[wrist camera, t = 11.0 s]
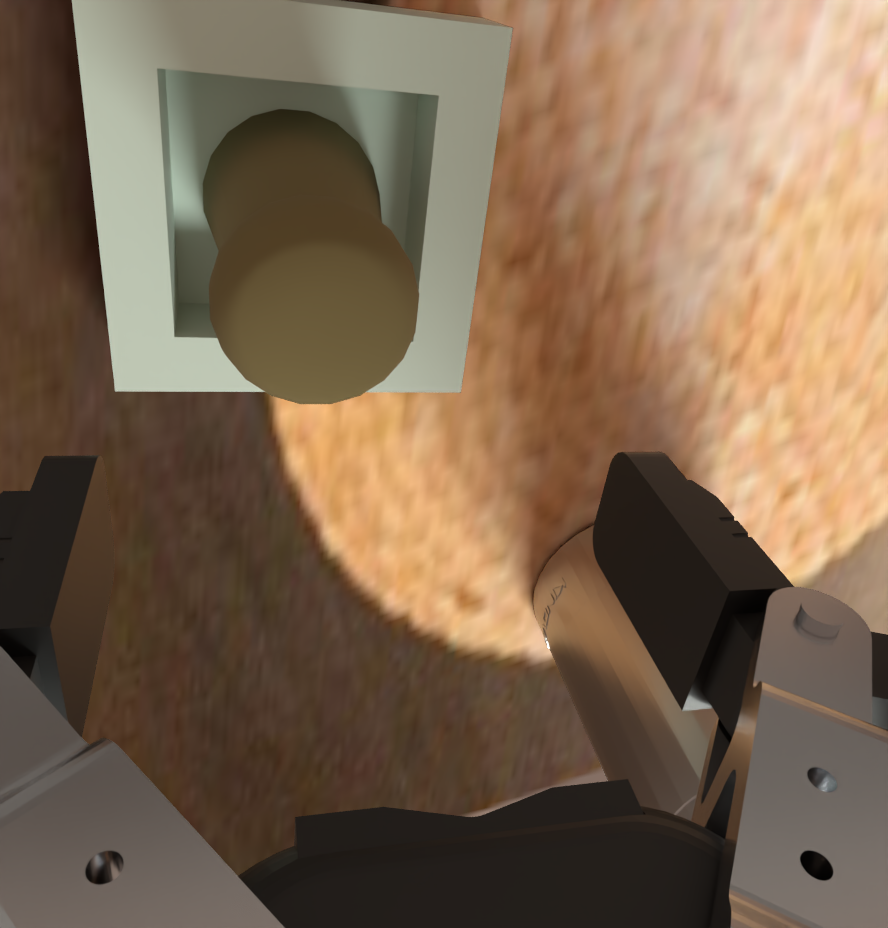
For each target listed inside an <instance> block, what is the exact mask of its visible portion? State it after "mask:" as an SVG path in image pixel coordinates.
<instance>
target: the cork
mask: <svg viewBox="0 0 888 928" xmlns="http://www.w3.org/2000/svg"><path fill="white" fill-rule="evenodd" d="M203 204H204V214H205V216H206V219H207V222H208V224H209V227H210V230H211V232H212V235H213V238H214V240H215V243H216V246H217V248H218V251H219V252H218V255H217V258H216V261H215V264H214V267H213V271H212V274H211V277H210V282H209V306H210V321H211V323H212V326H213V329H214V331H215V334H216V336H217V339H218V341H219V344H220V346H221V349H222V350H223V352H224V354H225V355H226V357H227V358H228V359H229V360H230V361H231V362H232V364H233V365H234V366H235V367H236V368H237V370H238V371H239V372H240V373H241V374H242V376H243V377H244V378H245V379H246V380H247V381H249V382H251V383H252V384H254V385H255V386H257V387H258V388H260V389H262V390H263V391H265V392H266V393H268V394H269V395H271V396H274V397H278V398H281V399H285V400H288V401H292V402H295V403H299V404H332V403H336V402H340V401H343V400H347V399H350V398H354V397H357V396H360V395H362V394H363V393H365V392H366V391H368V390H370V389H371V388H373V387H374V386H376V385H378V384H379V383H381V382H383V381H384V380H385V379H386V378H387V377H388V376H389V375H390V373H391V372H392V371H393V370H394V369H395V368H396V367H397V366H398V364H399V363H400V362H401V361H402V360H403V359H404V357H405V354H406V352H407V350H408V348H409V345H410V343H411V341H412V339H413V337H414V334H415V331H416V322H417V313H418V303H419V291H418V287H417V282H416V278H415V273H414V269H413V265H412V263H411V261H410V260H409V258H408V256H407V255H406V253H405V252H404V250H403V248H402V247H401V245H400V243H399V242H398V240H397V239H396V237H395V235H394V234H393V232H392V230H390V229H389V228H388V227H387V226H386V225H384V224H383V223H382V217H381V204H380V193H379V189H378V185H377V181H376V177H375V172H374V168H373V166H372V164H371V163H370V161H369V159H368V158H367V156H366V154H365V153H364V151H363V149H362V148H361V146H360V144H359V143H358V142H357V141H356V140H355V139H354V138H353V137H352V136H350V135H349V134H348V133H347V132H346V131H345V130H344V129H343V128H341V127H340V126H339V125H338V124H337V123H335V122H333V121H330V120H328V119H326V118H324V117H321V116H319V115H317V114H314V113H312V112H310V111H300V110H288V109H277V110H273V111H269V112H265V113H262V114H258V115H254V116H251V117H249V118H248V119H247V120H245V121H244V122H242V123H241V124H239V125H238V126H236V127H235V128H233V129H232V130H230V131H229V132H227V134H226V135H225V137H224V138H223V139H222V141H221V142H220V144H219V145H218V146H217V148H216V149H215V150H214V152H213V153H212V155H211V156H210V160H209V163H208V167H207V170H206V173H205V177H204V180H203Z"/></svg>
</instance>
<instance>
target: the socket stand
mask: <svg viewBox="0 0 888 928" xmlns="http://www.w3.org/2000/svg"><path fill="white" fill-rule="evenodd" d="M72 7H73V16H74V25H75V34H76V43H77V52H78V61H79V70H80V79H81V88H82V97H83V106H84V115H85V124H86V133H87V142H88V151H89V160H90V169H91V178H92V187H93V196H94V205H95V214H96V223H97V232H98V241H99V250H100V259H101V268H102V277H103V286H104V295H105V304H106V313H107V322H108V331H109V340H110V349H111V358H112V367H113V376H114V385H115V391H190V392H265V391H263V390H262V389H260V388H258V387H257V386H255V385H254V384H252V383H251V382H249V381H247V380H246V379H245V378H244V377H243V376H242V374H241V373H240V372H239V371H238V370H237V368H236V367H235V366H234V365H233V364H232V362H231V361H230V360H229V359H228V358H227V357H226V355H225V354H224V352H223V350H222V349H221V346H220V344H219V341H218V339H217V336H216V334H215V331H214V329H213V326H212V323H211V321H210V306H209V282H210V277H211V274H212V271H213V267H214V264H215V261H216V258H217V255H218V252H219V251H218V248H217V246H216V243H215V240H214V238H213V235H212V232H211V230H210V227H209V224H208V222H207V219H206V216H205V214H204V204H203V180H204V177H205V173H206V170H207V167H208V163H209V160H210V156H211V155H212V153H213V152H214V150H215V149H216V148H217V146H218V145H219V144H220V142H221V141H222V139H223V138H224V137H225V135H226V134H227V132H229V131H230V130H232V129H233V128H235V127H236V126H238V125H239V124H241V123H242V122H244V121H245V120H247V119H248V118H249V117H251V116H254V115H258V114H262V113H265V112H269V111H273V110H277V109H288V110H300V111H310V112H312V113H314V114H317V115H319V116H321V117H324V118H326V119H328V120H330V121H333V122H335V123H337V124H338V125H339V126H340V127H341V128H343V129H344V130H345V131H346V132H347V133H348V134H349V135H350V136H352V137H353V138H354V139H355V140H356V141H357V142H358V143H359V144H360V146H361V148H362V149H363V151H364V153H365V154H366V156H367V158H368V159H369V161H370V163H371V164H372V166H373V168H374V172H375V177H376V181H377V185H378V189H379V193H380V204H381V217H382V223H383V224H384V225H386V226H387V227H388V228H389V229H390V230H392V232H393V234H394V235H395V237H396V239H397V240H398V242H399V243H400V245H401V247H402V248H403V250H404V252H405V253H406V255H407V256H408V258H409V260H410V261H411V263H412V265H413V269H414V273H415V278H416V282H417V287H418V291H419V303H418V313H417V322H416V331H415V334H414V337H413V339H412V341H411V343H410V345H409V348H408V350H407V352H406V354H405V357H404V359H403V360H402V361H401V362H400V363H399V364H398V366H397V367H396V368H395V369H394V370H393V371H392V372H391V373H390V375H389V376H388V377H387V378H386V379H385V380H384V381H383V382H381V383H379V384H378V385H376V386H374V387H373V388H371V389H370V390H368V391H366V392H459V393H461V388H462V381H463V374H464V367H465V360H466V353H467V346H468V339H469V332H470V325H471V318H472V311H473V304H474V297H475V290H476V283H477V276H478V269H479V262H480V255H481V248H482V241H483V234H484V227H485V220H486V213H487V206H488V199H489V192H490V185H491V178H492V171H493V164H494V157H495V150H496V143H497V136H498V129H499V122H500V115H501V108H502V101H503V94H504V87H505V80H506V73H507V66H508V59H509V52H510V45H511V38H512V31H513V28H512V27H509V26H506V25H503V24H500V23H497V22H494V21H491V20H488V19H485V18H480V17H472V16H464V15H456V14H447V13H439V12H431V11H423V10H415V9H407V8H398V7H390V6H382V5H374V4H366V3H358V2H350V1H341V0H72Z"/></svg>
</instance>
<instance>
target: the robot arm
mask: <svg viewBox="0 0 888 928" xmlns="http://www.w3.org/2000/svg"><path fill="white" fill-rule="evenodd" d="M113 577H114V540H113V531H112V523H111V515H110V507H109V499H108V490H107V482H106V474H105V467H104V462H103V459H102V457H101V456H45V457H44V458H43V460H42V462H41V464H40V467H39V470H38V472H37V475H36V477H35V480H34V483H33V485H32V488H31V490H30V491H3V492H2V493H1V494H0V928H888V635H886V634H880V633H875V632H870V629H869V627H868V626H867V624H866V623H865V621H864V620H863V619H862V618H861V616H860V615H859V614H857V613H856V612H855V611H854V610H853V609H852V608H850V607H849V606H848V605H846V604H845V603H843V602H841V601H840V600H838V599H836V598H834V597H832V596H830V595H827V594H825V593H822V592H819V591H816V590H813V589H808V588H801V587H794V586H793V585H792V584H791V583H790V581H789V580H788V579H787V578H786V577H785V576H784V574H783V573H782V572H781V571H780V570H779V569H778V567H777V566H776V565H775V564H774V563H773V562H772V560H771V559H770V558H769V557H768V556H767V555H766V553H765V552H764V551H763V550H762V549H761V548H760V546H759V545H758V544H757V543H756V542H755V541H754V539H753V538H752V537H748V532H747V531H746V530H745V529H744V528H743V527H742V525H741V524H740V523H739V522H738V521H734V516H733V515H732V514H731V513H730V512H729V510H728V509H727V508H726V507H725V506H724V505H723V503H722V502H721V501H720V500H719V499H718V498H717V497H716V496H715V495H713V494H712V493H710V492H709V491H707V490H706V489H704V488H703V487H701V486H699V485H698V484H696V483H695V482H693V481H692V480H687V479H686V478H685V477H684V476H683V474H682V473H681V472H680V471H679V470H678V468H677V467H676V466H675V465H674V464H673V462H672V461H671V460H670V459H669V458H668V456H667V455H666V454H664V453H662V452H620V453H617V454H616V455H615V456H614V458H613V459H612V462H611V464H610V467H609V471H608V475H607V479H606V482H605V486H604V490H603V494H602V498H601V501H600V505H599V509H598V513H597V516H596V520H595V524H594V525H593V526H591V527H589V528H588V529H586V530H584V531H582V532H580V533H579V534H577V535H575V536H574V537H573V538H572V539H570V540H569V541H568V542H567V543H565V544H564V545H563V546H562V547H561V548H560V549H559V550H558V551H557V552H556V553H555V554H554V555H553V556H552V558H551V559H550V560H549V561H548V563H547V564H546V566H545V567H544V569H543V571H542V572H541V574H540V576H539V579H538V581H537V584H536V587H535V590H534V599H533V606H534V612H535V617H536V619H537V621H538V624H539V626H540V628H541V630H542V633H543V636H544V639H545V642H546V644H547V647H548V649H550V651H551V653H552V656H553V658H554V660H555V662H556V665H557V667H558V669H559V671H560V674H561V676H562V679H563V681H564V683H565V685H566V688H567V690H568V692H569V694H570V697H571V699H572V701H573V703H574V706H575V708H576V710H577V712H578V715H579V717H580V719H581V721H582V724H583V726H584V728H585V730H586V733H587V735H588V737H589V739H590V742H591V744H592V746H593V749H594V751H595V753H596V755H597V758H598V760H599V762H600V764H601V767H602V769H603V771H604V773H605V776H606V778H607V780H608V781H606V782H597V783H589V784H580V785H571V786H562V787H554V788H550V789H548V790H545V791H543V792H540V793H538V794H535V795H533V796H530V797H528V798H525V799H522V800H520V801H518V802H515V803H512V804H510V805H507V806H505V807H502V808H500V809H497V810H495V811H492V812H490V813H487V814H485V815H482V816H478V817H463V816H454V815H446V814H438V813H429V812H421V811H413V810H404V809H396V808H388V807H379V808H370V809H362V810H353V811H344V812H335V813H327V814H318V815H309V816H301V817H295V842H294V846H293V847H290V848H288V849H285V850H283V851H281V852H278V853H276V854H274V855H272V856H270V857H268V858H266V859H265V860H263V861H261V862H259V863H257V864H255V865H254V866H252V867H251V868H249V869H248V870H246V871H245V872H243V873H242V874H240V875H239V876H237V875H236V874H235V873H234V872H233V871H232V870H231V868H230V867H229V866H228V865H227V864H226V863H225V862H224V861H223V860H222V859H221V858H220V856H219V855H218V854H217V853H216V852H215V851H214V850H213V849H212V848H211V847H210V846H209V844H208V843H207V842H206V841H205V840H204V839H203V838H202V837H201V836H200V835H199V834H198V832H197V831H196V830H195V829H194V828H193V827H192V826H191V825H190V824H189V823H188V822H187V820H186V819H185V818H184V817H183V816H182V815H181V814H180V813H179V812H178V811H177V809H176V808H175V807H174V806H173V805H172V804H171V803H170V802H169V801H168V800H167V799H166V797H165V796H164V795H163V794H162V793H161V792H160V791H159V790H158V789H157V788H156V787H155V785H154V784H153V783H152V782H151V781H150V780H149V779H148V778H147V777H146V776H145V775H144V773H143V772H142V771H141V770H140V769H139V768H138V767H137V766H136V765H135V764H134V763H133V761H132V760H131V759H130V758H129V757H128V756H127V755H126V754H125V753H124V752H123V751H122V750H121V749H120V748H119V747H118V746H117V745H116V744H115V743H114V742H112V741H111V740H109V739H106V738H100V739H98V740H97V741H95V742H93V743H92V744H90V745H89V744H88V743H86V742H85V741H84V740H83V739H82V734H83V729H84V724H85V719H86V714H87V709H88V704H89V699H90V694H91V689H92V684H93V679H94V674H95V669H96V664H97V659H98V654H99V649H100V644H101V639H102V634H103V629H104V624H105V619H106V614H107V609H108V604H109V599H110V594H111V589H112V584H113Z"/></svg>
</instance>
